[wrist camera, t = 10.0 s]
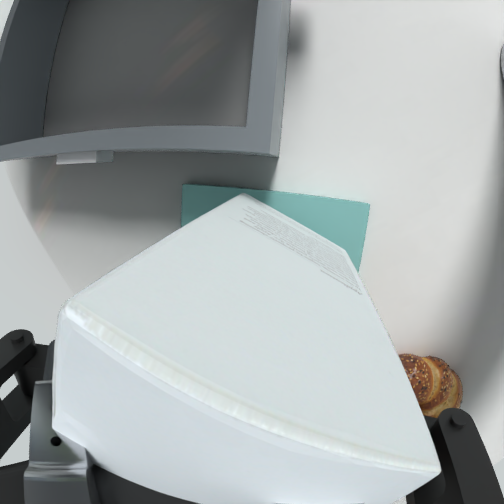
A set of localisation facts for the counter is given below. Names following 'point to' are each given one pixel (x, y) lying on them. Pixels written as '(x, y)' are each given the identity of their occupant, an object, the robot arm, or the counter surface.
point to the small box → (240, 370)
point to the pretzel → (432, 383)
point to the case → (130, 138)
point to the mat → (291, 212)
